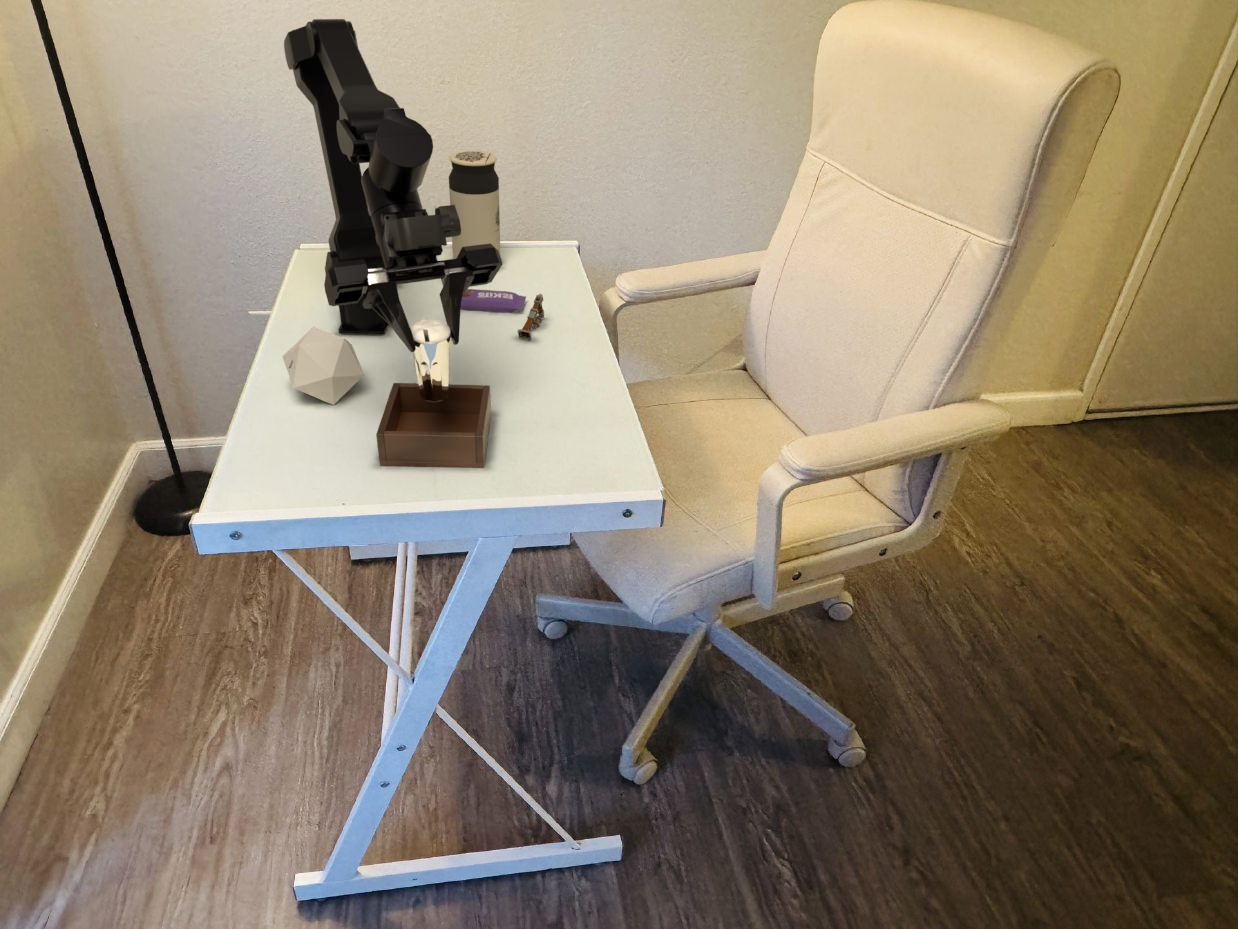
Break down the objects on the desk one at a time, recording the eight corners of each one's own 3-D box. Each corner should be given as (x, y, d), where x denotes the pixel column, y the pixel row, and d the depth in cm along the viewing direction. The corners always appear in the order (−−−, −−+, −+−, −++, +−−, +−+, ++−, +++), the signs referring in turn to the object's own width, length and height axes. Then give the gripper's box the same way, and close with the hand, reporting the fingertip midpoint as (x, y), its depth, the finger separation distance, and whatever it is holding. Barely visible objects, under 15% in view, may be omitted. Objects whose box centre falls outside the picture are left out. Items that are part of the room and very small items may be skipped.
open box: (379, 465, 97) (376, 434, 95) (396, 412, 107) (393, 382, 104) (483, 467, 98) (482, 436, 96) (491, 414, 107) (490, 385, 105)
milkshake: (411, 409, 97) (403, 328, 91) (417, 384, 101) (409, 306, 95) (452, 409, 97) (446, 329, 91) (456, 385, 102) (451, 307, 96)
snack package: (526, 290, 135) (522, 303, 131) (526, 302, 136) (523, 315, 132) (452, 285, 135) (446, 299, 130) (452, 297, 136) (447, 311, 132)
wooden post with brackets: (549, 312, 131) (546, 291, 127) (533, 352, 127) (529, 331, 123) (538, 310, 131) (534, 289, 128) (521, 350, 127) (517, 329, 123)
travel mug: (447, 270, 145) (440, 160, 134) (461, 253, 151) (456, 147, 141) (493, 275, 144) (490, 165, 134) (505, 258, 150) (504, 152, 140)
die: (307, 377, 114) (259, 339, 105) (365, 343, 113) (321, 301, 104) (325, 426, 110) (276, 391, 101) (385, 391, 109) (341, 352, 100)
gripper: (315, 186, 85) (356, 336, 83) (494, 170, 92) (535, 307, 91) (309, 236, 95) (345, 370, 93) (471, 218, 102) (507, 342, 101)
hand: (435, 347), depth 94 cm, fingers closed on milkshake, 4 cm apart
